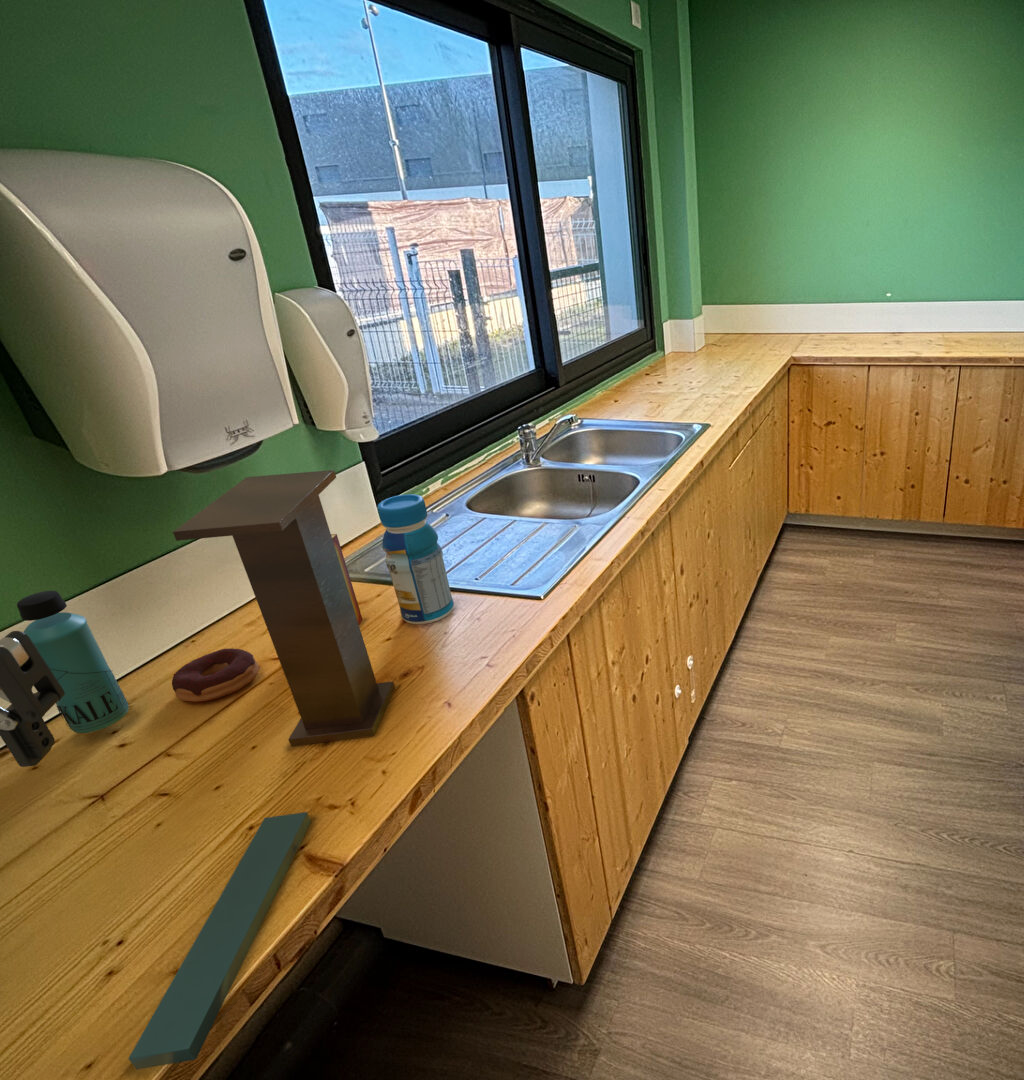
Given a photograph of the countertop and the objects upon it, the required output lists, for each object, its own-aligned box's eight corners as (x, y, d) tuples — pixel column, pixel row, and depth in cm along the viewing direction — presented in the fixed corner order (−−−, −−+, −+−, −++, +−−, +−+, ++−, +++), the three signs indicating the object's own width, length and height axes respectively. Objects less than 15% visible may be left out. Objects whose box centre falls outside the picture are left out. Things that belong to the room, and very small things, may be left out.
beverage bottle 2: (452, 622, 113) (424, 508, 104) (396, 630, 111) (364, 515, 103) (458, 596, 120) (433, 488, 112) (406, 603, 119) (377, 494, 110)
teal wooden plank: (269, 828, 76) (264, 817, 75) (311, 822, 77) (307, 811, 76) (135, 1070, 55) (127, 1058, 54) (196, 1060, 55) (188, 1048, 54)
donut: (260, 656, 106) (251, 634, 104) (262, 689, 99) (253, 666, 97) (180, 680, 101) (169, 657, 100) (176, 716, 94) (164, 693, 92)
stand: (322, 692, 97) (246, 476, 84) (397, 683, 99) (334, 469, 85) (273, 775, 83) (172, 531, 69) (361, 764, 84) (279, 522, 70)
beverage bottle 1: (112, 708, 96) (46, 580, 87) (148, 715, 94) (85, 586, 86) (61, 739, 90) (-15, 607, 82) (98, 748, 89) (25, 613, 80)
